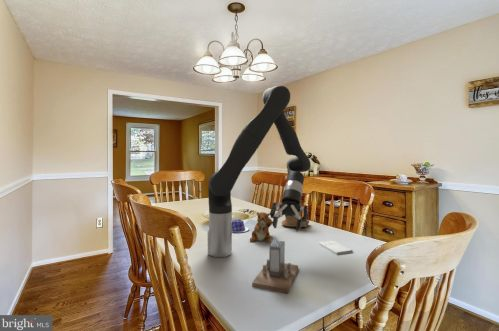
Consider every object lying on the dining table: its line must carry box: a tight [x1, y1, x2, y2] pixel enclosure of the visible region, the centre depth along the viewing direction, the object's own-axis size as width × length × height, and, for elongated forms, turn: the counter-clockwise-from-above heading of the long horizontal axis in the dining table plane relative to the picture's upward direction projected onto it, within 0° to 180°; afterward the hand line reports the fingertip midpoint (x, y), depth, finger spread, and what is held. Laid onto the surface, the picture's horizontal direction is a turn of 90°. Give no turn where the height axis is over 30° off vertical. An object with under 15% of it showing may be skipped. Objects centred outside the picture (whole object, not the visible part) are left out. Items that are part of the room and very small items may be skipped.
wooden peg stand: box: [252, 259, 299, 294], centre depth 83 cm, size 17×11×4 cm, turn 159°
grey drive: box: [268, 239, 286, 278], centre depth 83 cm, size 6×4×10 cm, turn 159°
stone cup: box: [281, 202, 310, 228], centre depth 140 cm, size 15×12×15 cm
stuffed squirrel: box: [249, 211, 273, 243], centre depth 121 cm, size 10×14×13 cm
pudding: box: [232, 218, 249, 233], centre depth 134 cm, size 12×12×5 cm
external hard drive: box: [318, 240, 354, 256], centre depth 109 cm, size 2×8×12 cm
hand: (285, 228), depth 94 cm, fingers open, 8 cm apart
